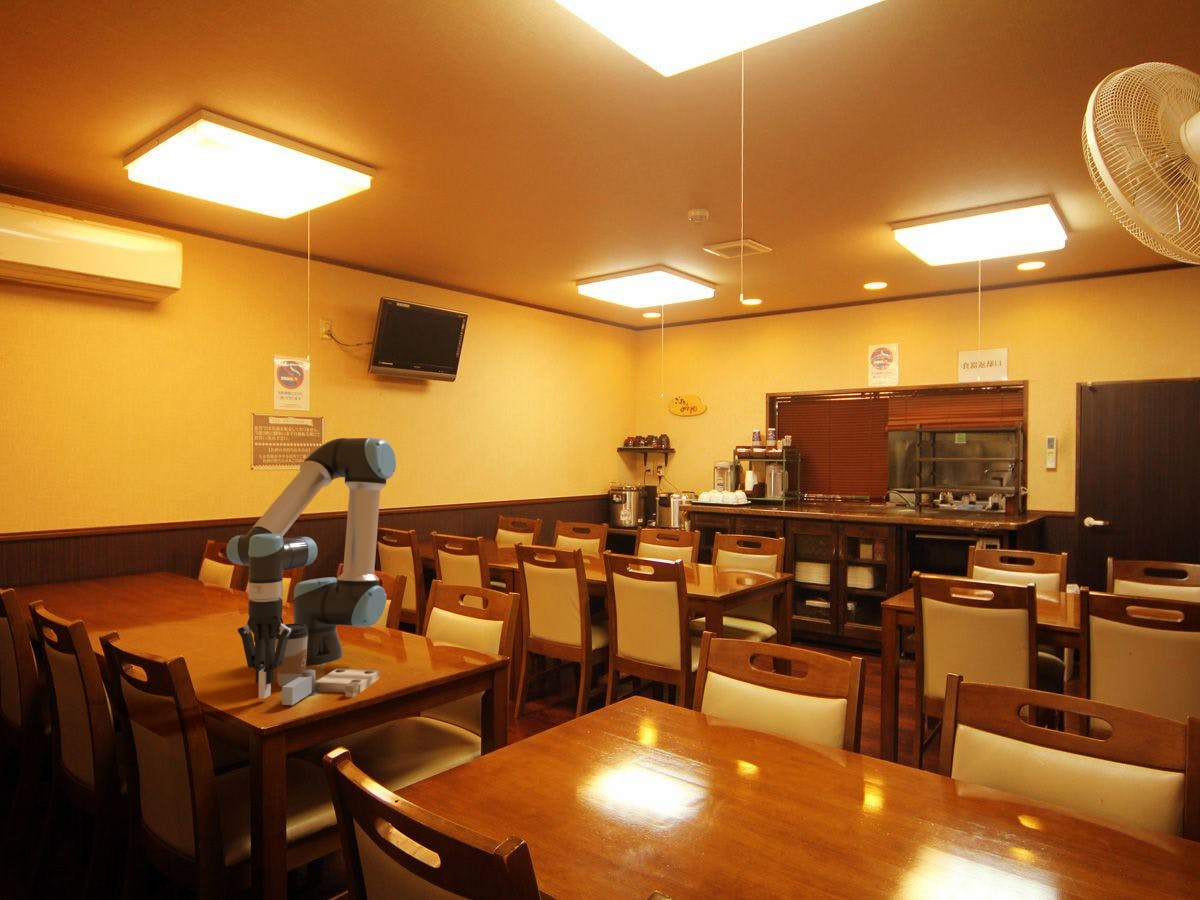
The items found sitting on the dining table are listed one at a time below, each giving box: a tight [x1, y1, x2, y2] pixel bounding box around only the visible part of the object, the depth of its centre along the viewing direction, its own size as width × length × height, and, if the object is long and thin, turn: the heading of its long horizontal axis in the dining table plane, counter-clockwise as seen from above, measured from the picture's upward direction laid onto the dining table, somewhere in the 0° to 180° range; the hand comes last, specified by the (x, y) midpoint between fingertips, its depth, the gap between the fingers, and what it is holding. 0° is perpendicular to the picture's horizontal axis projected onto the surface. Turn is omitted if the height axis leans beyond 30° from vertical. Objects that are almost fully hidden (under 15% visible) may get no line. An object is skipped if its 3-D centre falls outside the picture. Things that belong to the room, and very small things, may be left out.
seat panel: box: [305, 668, 381, 698], centre depth 192 cm, size 16×15×3 cm
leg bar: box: [281, 669, 317, 706], centre depth 183 cm, size 12×3×5 cm, turn 173°
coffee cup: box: [275, 623, 309, 688], centre depth 195 cm, size 8×8×15 cm
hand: (264, 696), depth 181 cm, fingers closed
